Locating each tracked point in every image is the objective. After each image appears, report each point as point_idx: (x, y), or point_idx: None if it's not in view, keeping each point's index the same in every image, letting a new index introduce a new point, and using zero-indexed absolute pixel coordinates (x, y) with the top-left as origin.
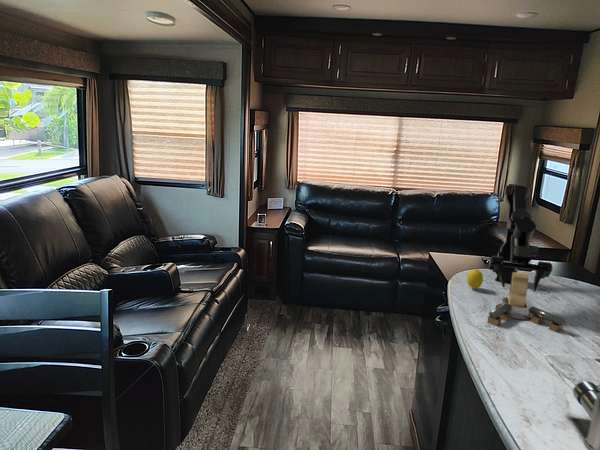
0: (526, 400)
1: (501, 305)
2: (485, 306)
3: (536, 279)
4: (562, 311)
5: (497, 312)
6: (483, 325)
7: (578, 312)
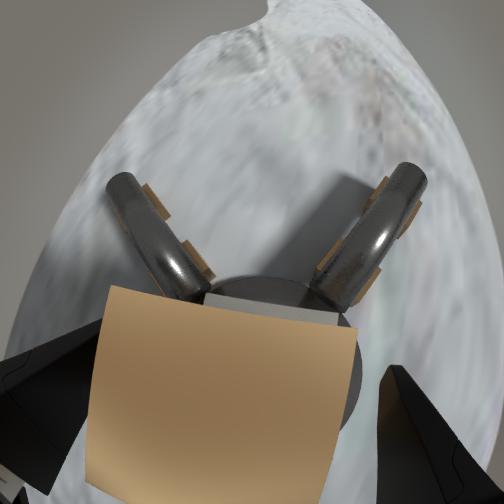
0: (329, 4)
1: None
2: None
3: (38, 364)
4: None
5: (399, 171)
6: None
7: None
